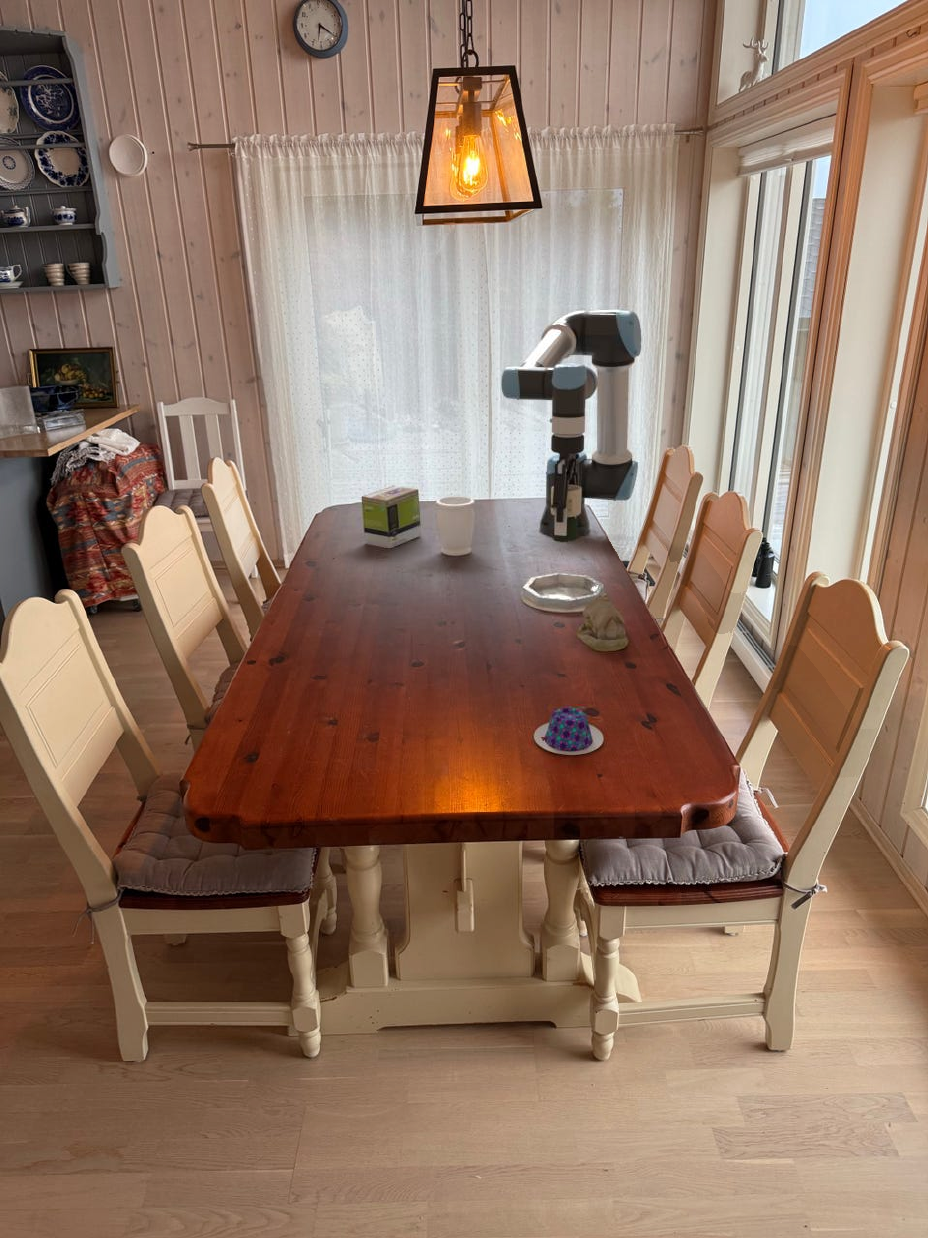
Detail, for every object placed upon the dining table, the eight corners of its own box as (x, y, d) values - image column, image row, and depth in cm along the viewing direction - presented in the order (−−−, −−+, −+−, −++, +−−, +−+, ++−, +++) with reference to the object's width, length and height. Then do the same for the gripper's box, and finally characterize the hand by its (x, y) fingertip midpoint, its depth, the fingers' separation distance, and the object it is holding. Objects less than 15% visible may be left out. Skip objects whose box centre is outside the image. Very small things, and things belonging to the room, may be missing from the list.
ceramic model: (570, 629, 200) (571, 587, 196) (617, 624, 202) (619, 583, 198) (590, 654, 187) (591, 610, 183) (640, 649, 189) (643, 605, 185)
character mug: (544, 535, 217) (545, 483, 212) (572, 533, 218) (573, 481, 214) (557, 548, 207) (558, 494, 202) (586, 546, 209) (588, 492, 204)
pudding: (617, 742, 154) (619, 715, 152) (568, 766, 147) (569, 738, 145) (568, 717, 162) (568, 691, 160) (519, 738, 155) (519, 712, 153)
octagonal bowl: (534, 579, 231) (534, 568, 230) (614, 587, 224) (614, 576, 223) (509, 607, 213) (509, 595, 211) (596, 617, 206) (596, 605, 205)
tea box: (396, 531, 273) (394, 484, 267) (422, 536, 268) (420, 488, 262) (363, 544, 262) (360, 494, 256) (389, 549, 256) (387, 499, 251)
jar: (476, 546, 257) (475, 496, 252) (473, 557, 248) (472, 505, 242) (439, 546, 258) (438, 495, 253) (435, 557, 249) (433, 505, 243)
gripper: (563, 425, 214) (561, 516, 222) (539, 442, 195) (537, 540, 204) (594, 426, 211) (590, 518, 220) (572, 443, 193) (569, 543, 201)
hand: (565, 529), depth 212 cm, fingers closed on character mug, 9 cm apart
